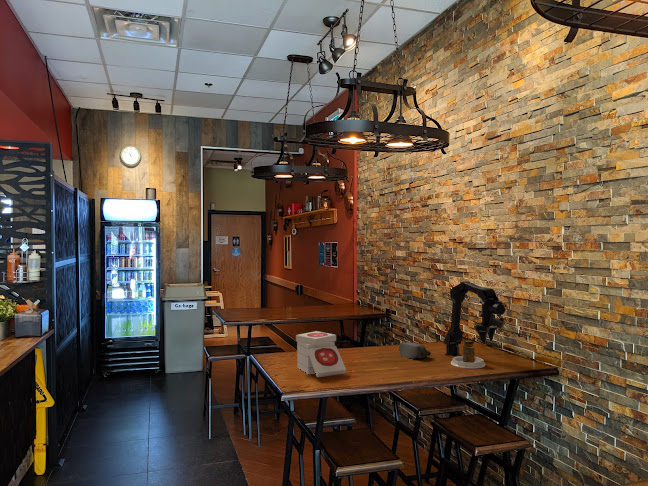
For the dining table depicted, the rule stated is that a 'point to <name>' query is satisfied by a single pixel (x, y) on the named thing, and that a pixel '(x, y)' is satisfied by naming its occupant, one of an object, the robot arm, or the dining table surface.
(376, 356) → the dining table surface
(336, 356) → the pizza box stack
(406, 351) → the grey rounded jug
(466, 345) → the condiment
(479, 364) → the collar plate
